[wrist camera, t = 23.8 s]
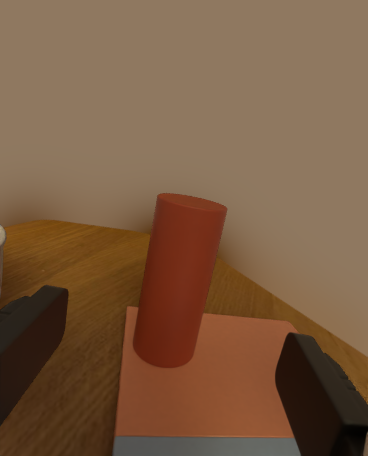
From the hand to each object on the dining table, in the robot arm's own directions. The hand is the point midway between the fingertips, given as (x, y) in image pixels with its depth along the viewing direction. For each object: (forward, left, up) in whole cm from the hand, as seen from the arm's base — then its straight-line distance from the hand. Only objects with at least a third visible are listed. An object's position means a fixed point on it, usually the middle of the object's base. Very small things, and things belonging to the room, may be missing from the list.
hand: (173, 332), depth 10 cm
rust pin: (-2, -9, -7) cm, 12 cm away
